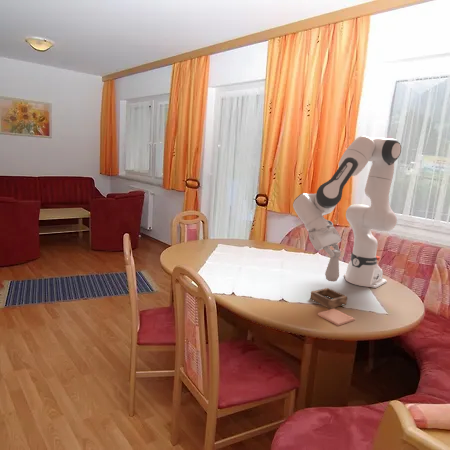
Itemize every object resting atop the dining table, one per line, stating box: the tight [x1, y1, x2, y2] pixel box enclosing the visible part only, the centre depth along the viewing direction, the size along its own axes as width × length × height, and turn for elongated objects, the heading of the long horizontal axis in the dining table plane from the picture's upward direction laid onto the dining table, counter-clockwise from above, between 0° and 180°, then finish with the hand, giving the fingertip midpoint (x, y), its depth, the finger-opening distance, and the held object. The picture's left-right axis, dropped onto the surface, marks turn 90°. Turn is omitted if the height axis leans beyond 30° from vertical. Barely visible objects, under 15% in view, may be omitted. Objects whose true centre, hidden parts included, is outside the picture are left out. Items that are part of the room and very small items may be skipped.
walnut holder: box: [309, 287, 348, 310], centre depth 161 cm, size 11×11×4 cm
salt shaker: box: [324, 249, 342, 282], centre depth 158 cm, size 6×6×13 cm
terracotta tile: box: [317, 308, 356, 327], centre depth 146 cm, size 10×10×1 cm
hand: (336, 255), depth 156 cm, fingers closed on salt shaker, 4 cm apart
